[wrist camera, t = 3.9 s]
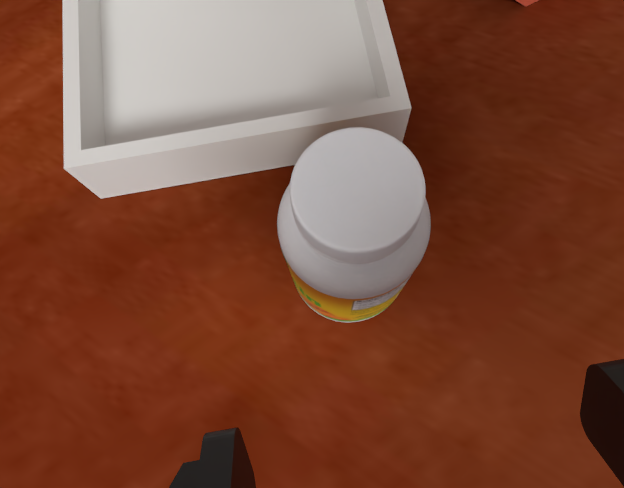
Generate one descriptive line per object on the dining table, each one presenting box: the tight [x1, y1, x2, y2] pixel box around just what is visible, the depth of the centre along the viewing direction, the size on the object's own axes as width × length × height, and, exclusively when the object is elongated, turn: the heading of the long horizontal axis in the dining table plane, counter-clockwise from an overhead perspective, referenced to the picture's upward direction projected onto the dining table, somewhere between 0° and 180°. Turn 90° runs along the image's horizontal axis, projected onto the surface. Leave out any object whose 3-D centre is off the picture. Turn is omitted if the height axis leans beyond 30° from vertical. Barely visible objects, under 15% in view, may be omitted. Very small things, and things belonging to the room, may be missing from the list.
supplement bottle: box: [277, 127, 431, 322], centre depth 18 cm, size 5×5×10 cm
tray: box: [63, 0, 411, 199], centre depth 25 cm, size 16×16×4 cm
